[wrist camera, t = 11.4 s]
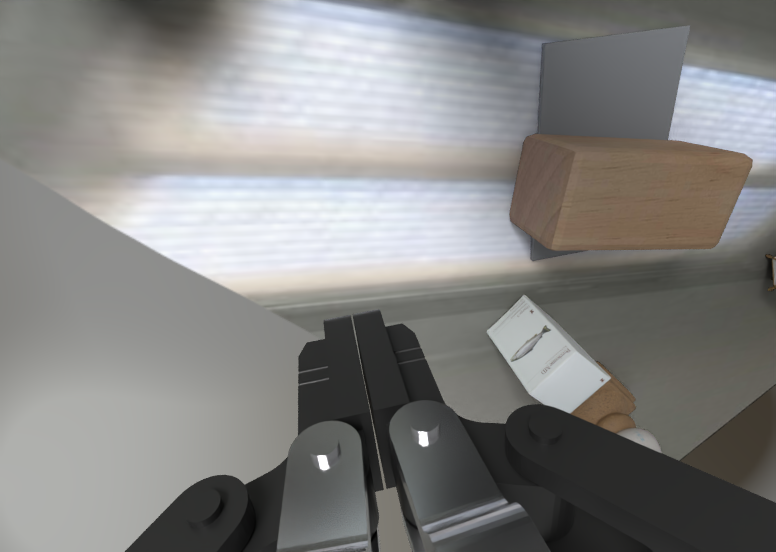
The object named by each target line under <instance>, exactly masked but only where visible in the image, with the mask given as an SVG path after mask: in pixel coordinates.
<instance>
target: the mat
mask: <svg viewBox="0 0 776 552" xmlns="http://www.w3.org/2000/svg"><path fill="white" fill-rule="evenodd" d="M689 29H690V25H689V26H681V27H673V28H665V29H657V30H649V31H641V32H633V33H625V34H617V35H609V36H601V37H593V38H585V39H577V40H569V41H561V42H553V43H545V44H542V60H541V78H540V96H539V114H538V132H537V134H549V135H570V136H590V137H611V138H632V139H652V140H668V136H669V131H670V126H671V121H672V116H673V111H674V105H675V100H676V95H677V90H678V85H679V80H680V75H681V70H682V65H683V60H684V54H685V49H686V44H687V39H688V34H689ZM583 251H588V250H560V251H552V250H550V249H548V248H546V247H545V246H543V245H542V244H541V243H539V242H538V241H537V240H535V239H534V238H533V237H532V240H531V258H530V259H531V260H532V261H535V260H540V259H545V258H551V257H556V256H561V255H567V254H572V253H577V252H583Z"/></svg>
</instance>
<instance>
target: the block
mask: <svg viewBox="0 0 776 552" xmlns="http://www.w3.org/2000/svg"><path fill="white" fill-rule="evenodd" d="M752 161H753V159H751V158H749V157H748V156H746V155H745V154H743V153H738V152H733V151H728V150H723V149H718V148H713V147H708V146H703V145H698V144H692V143H687V142H682V141H673V140H652V139H632V138H611V137H590V136H570V135H549V134H533V135H531V136H528V137H526V139H525V141H524V143H523V148H522V153H521V158H520V163H519V168H518V173H517V178H516V183H515V188H514V193H513V198H512V203H511V208H510V213H509V215H510V220H511V222H512V223H514V224H515V225H516V226H518V227H519V228H520V229H522V230H523V231H525V232H526V233H527V234H529V235H530V236H531V237H533V238H534V239H535V240H537V241H538V242H539V243H541V244H542V245H543V246H545V247H546V248H548V249H550V250H552V251H560V250H651V249H711V248H713V247H715V246H716V245H717V244H718V243H719V240H720V238H721V236H722V233H723V231H724V229H725V227H726V224H727V222H728V220H729V218H730V215H731V213H732V211H733V209H734V206H735V204H736V202H737V199H738V197H739V195H740V193H741V190H742V188H743V186H744V184H745V181H746V179H747V177H748V174H749V172H750V170H751V168H752Z"/></svg>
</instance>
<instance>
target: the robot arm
mask: <svg viewBox="0 0 776 552" xmlns="http://www.w3.org/2000/svg"><path fill="white" fill-rule="evenodd" d="M353 319H354V325H355V330H356V336H357V342H358V348H359V353H360V359H361V364H362V370H363V375H364V379H363V375H362V370H361V365H360V360H359V355H358V350H357V345H356V340H355V335H354V330H353V325H352V320H351V315H347V316H342V317H337V318H332V319H326V320H324V331H325V339H323V340H318V341H313V342H308V343H306V345H305V346H304V348H303V350H302V352H301V353H300V355H299V376H298V378H299V380H298V383H299V386H298V436H297V438H296V439H295V440H294V442H293V443H292V445H291V447H290V449H289V453H288V457H287V458H286V459H285V460H284V461H283V462H282V463H281V464H280V465H279V466H277V467H276V468H275V469H273V470H272V471H270V472H268V473H266V474H264V475H263V476H261V477H259V478H257V479H255V480H253V481H251V482H249V483H247V484H246V485H244V484H243V483H242V482H241V481H240V480H239V479H237V478H235V477H233V476H228V475H217V476H212V477H209V478H206V479H203V480H201V481H199V482H197V483H195V484H194V485H192V486H191V487H189V488H188V489H187V490H185V491H184V492H183V493H182V494H181V495H180V496H179V497H178V498H177V499H176V500H175V501H174V502H173V503H172V504H171V505H170V506H169V507H168V508H167V509H166V510H165V511H164V512H163V513H162V514H161V515H160V516H159V517H158V518H157V519H156V520H155V521H154V522H153V523H152V524H151V525H150V526H149V527H148V528H147V529H146V531H144V532H143V533H142V534H141V536H139V538H138V539H137V540H136V541H135V542H134V543H133V544H132V545H131V546H130V547H129V548H128V549H127V550H126V551H125V552H381V551H380V540H379V530H378V520H379V513H378V507H377V502H376V495H375V492H376V491H380V490H383V483H382V478H381V471H380V466H379V460H378V454H377V449H376V443H375V438H374V432H373V426H372V420H371V415H372V419H373V424H374V429H375V434H376V439H377V443H378V449H379V454H380V459H381V463H382V468H383V473H384V478H385V483H386V488H387V489H388V488H392V487H396V488H397V492H398V497H399V501H400V506H401V513H402V519H403V524H404V527H405V531H406V534H407V537H408V540H409V543H410V547H411V550H412V552H776V503H775V502H773V501H770V500H768V499H766V498H763V497H761V496H759V495H757V494H754V493H751V492H750V491H747V490H745V489H742V488H740V487H738V486H735V485H733V484H731V483H729V482H726V481H724V480H722V479H719V478H717V477H715V476H712V475H710V474H708V473H706V472H703V471H701V470H699V469H696V468H694V467H692V466H690V465H687V464H685V463H683V462H680V461H678V460H676V459H673V458H671V457H669V456H667V455H664V454H662V453H660V452H657V451H655V450H653V449H650V448H648V447H646V446H643V445H641V444H639V443H637V442H634V441H632V440H630V439H627V438H625V437H623V436H620V435H618V434H616V433H613V432H611V431H609V430H607V429H604V428H602V427H600V426H597V425H595V424H593V423H590V422H588V421H586V420H583V419H581V418H579V417H577V416H574V415H572V414H570V413H567V412H565V411H563V410H560V409H558V408H555V407H552V406H548V405H540V404H534V405H527V406H523V407H521V408H519V409H517V410H515V411H514V412H513V413H512V414H511V415H510V416H509V418H508V419H507V422H506V424H500V423H481V422H474V421H470V420H467V419H464V418H462V417H460V416H458V415H457V414H456V413H455V412H454V411H453V410H452V409H451V408H450V407H448V406H447V405H446V404H445V402H444V400H443V398H442V396H441V394H440V391H439V389H438V387H437V384H436V382H435V380H434V377H433V375H432V373H431V370H430V368H429V366H428V363H427V361H426V359H425V356H424V354H423V352H422V349H421V348H420V345H419V342H418V340H417V338H416V335H415V333H414V332H413V331H411V330H410V329H409V328H407V327H406V326H405V325H403V324H398V325H393V326H388V327H385V325H384V322H383V318H382V315H381V312H380V310H379V309H378V310H372V311H367V312H362V313H357V314H353ZM364 380H365V384H364ZM365 385H366V390H367V394H366V390H365ZM367 395H368V399H367ZM368 400H369V404H370V409H371V414H370V409H369V404H368Z"/></svg>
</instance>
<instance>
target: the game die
mask: <svg viewBox="0 0 776 552" xmlns="http://www.w3.org/2000/svg"><path fill="white" fill-rule="evenodd" d="M766 257H767V258H770V259H772V273H773V277H772V278H771V280H773V287H770V288H769V289H768V290H767V291H772V290H774V289H776V256H775V257H772V255H770V254H769V255H766Z"/></svg>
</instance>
